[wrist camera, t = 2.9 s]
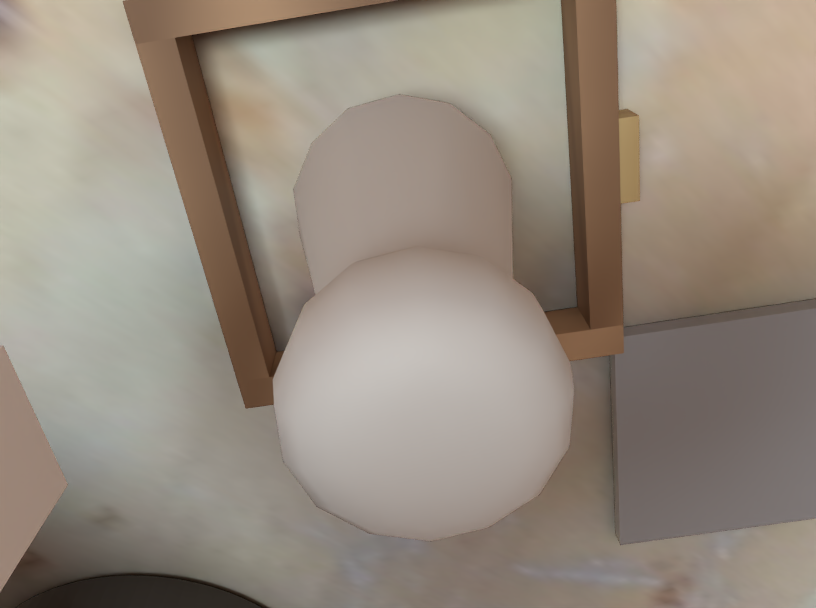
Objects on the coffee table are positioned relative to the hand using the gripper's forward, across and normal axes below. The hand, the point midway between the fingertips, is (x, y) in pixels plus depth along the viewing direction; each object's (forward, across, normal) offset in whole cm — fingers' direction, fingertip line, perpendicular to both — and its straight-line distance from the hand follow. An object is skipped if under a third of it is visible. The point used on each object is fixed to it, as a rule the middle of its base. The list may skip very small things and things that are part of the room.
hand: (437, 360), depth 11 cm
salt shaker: (+11, 0, 0) cm, 11 cm away
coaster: (+11, +10, -11) cm, 18 cm away
